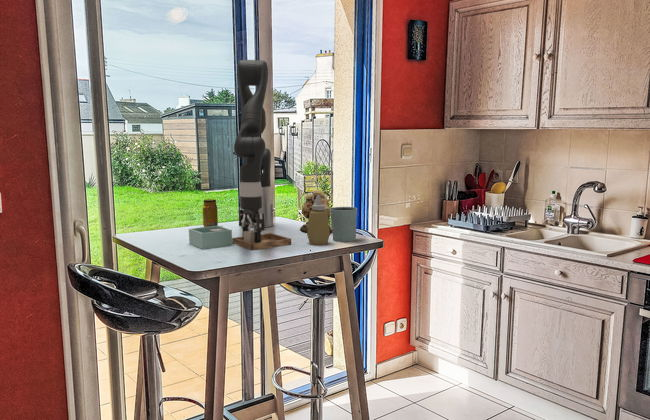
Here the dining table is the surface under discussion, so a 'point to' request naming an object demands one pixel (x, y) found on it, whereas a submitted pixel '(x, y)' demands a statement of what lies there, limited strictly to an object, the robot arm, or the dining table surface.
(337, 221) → the grey green cup
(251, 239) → the beige matte cube
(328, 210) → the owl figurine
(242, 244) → the walnut tray
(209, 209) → the condiment
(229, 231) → the teal bin
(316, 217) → the squeeze bottle
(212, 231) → the grey brown block
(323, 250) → the dining table surface
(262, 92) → the robot arm
